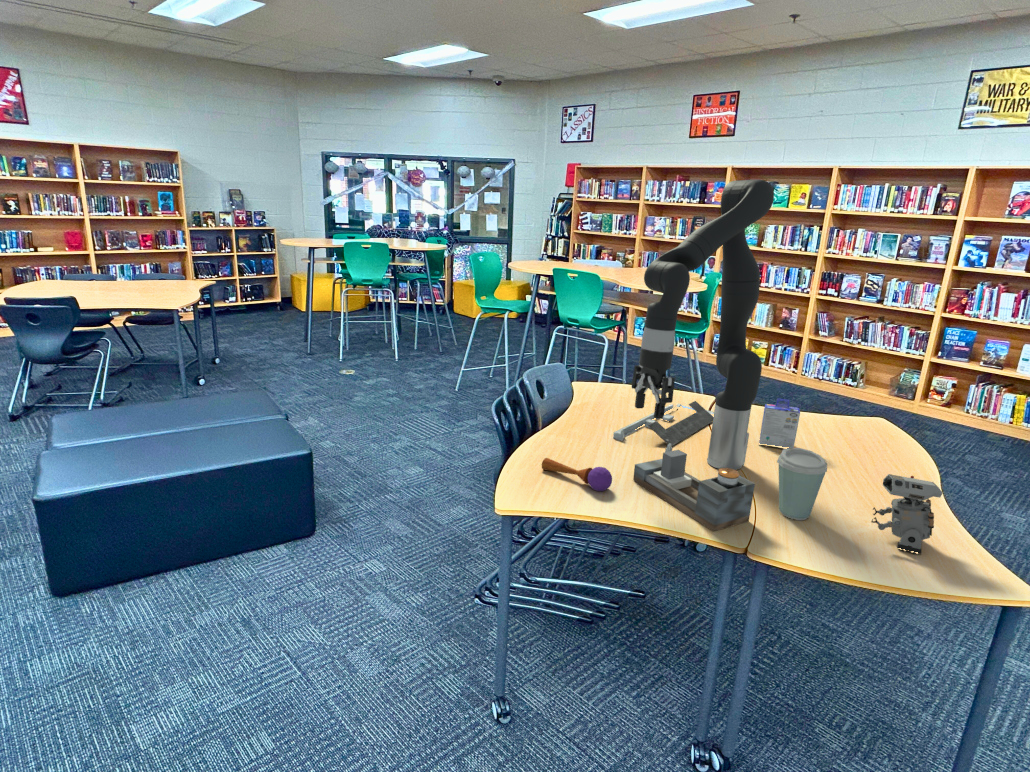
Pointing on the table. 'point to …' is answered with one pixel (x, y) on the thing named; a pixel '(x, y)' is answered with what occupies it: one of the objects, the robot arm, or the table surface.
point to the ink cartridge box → (779, 424)
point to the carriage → (674, 469)
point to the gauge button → (728, 478)
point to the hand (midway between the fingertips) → (648, 412)
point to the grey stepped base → (701, 497)
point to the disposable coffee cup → (799, 481)
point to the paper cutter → (674, 431)
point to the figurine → (909, 510)
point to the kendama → (583, 474)
